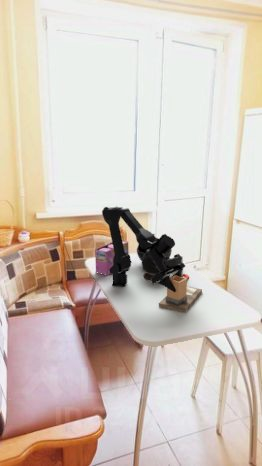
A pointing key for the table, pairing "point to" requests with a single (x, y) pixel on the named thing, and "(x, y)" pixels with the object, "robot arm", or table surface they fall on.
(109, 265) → the gum box
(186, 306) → the board
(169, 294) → the tan cardboard box
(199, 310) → the table surface
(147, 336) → the table surface
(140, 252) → the bowl of black rocks
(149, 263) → the black ball on stand
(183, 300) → the vise
